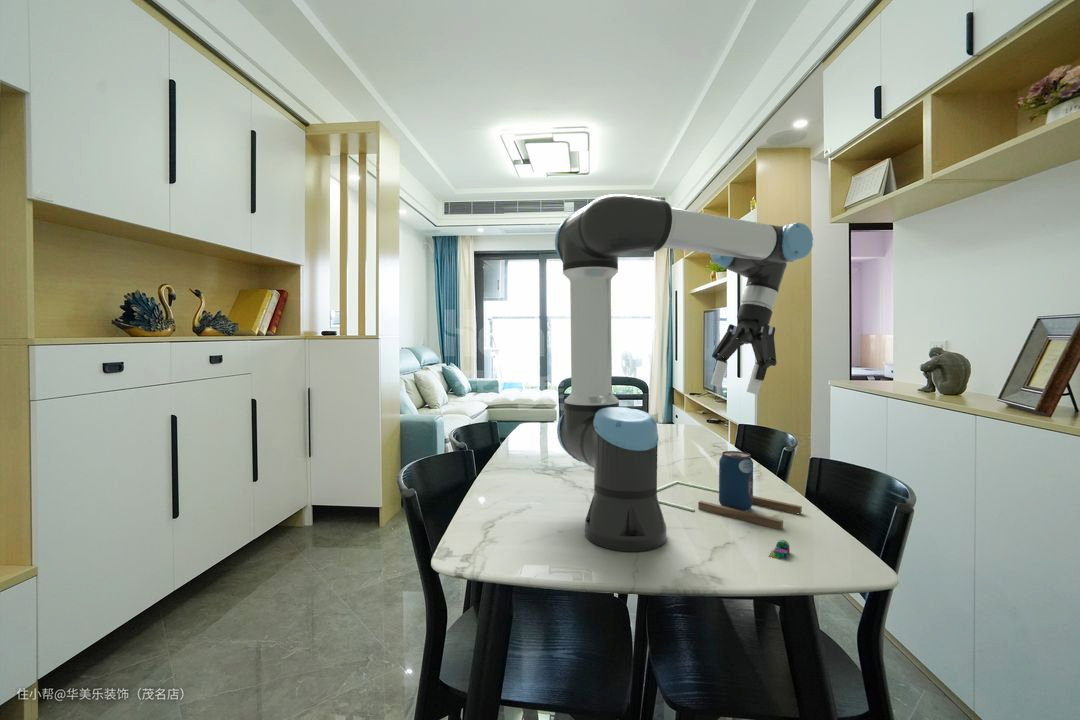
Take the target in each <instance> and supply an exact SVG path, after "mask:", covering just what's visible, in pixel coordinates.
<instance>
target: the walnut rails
mask: <svg viewBox="0 0 1080 720" xmlns="http://www.w3.org/2000/svg"><path fill="white" fill-rule="evenodd" d="M697 504H698V505H697V507H698V510H702V511H705V512H709V513H714V514H718V515H722V516H726V517H730V518H734V519H737V520H741V521H745V522H749V523H753V524H757V525H761V526H765V527H769V528H772V529H777V530H783V528H784V519H783V520H782V519H778V518H775V517H770V516H765V515H762V514H757V513H753V512H749V511H742V510H738V509H733V508H729V507H725V506H721V504H716V503H712V502H708V501H703V500H699V501H698V503H697ZM753 505H755V506H761V507H766V508H768V509H769V508H770V509H775V510H779V511H784V512H786V511H787V513H791V512H793V513H792V514H795V513H799V514H798V515H801V514H802V513H801V512H803V510H802V509H803V506H802V505H798V504H793V503H789V502H784V501H780V500H775V499H771V498H765V497H761V496H756V495H753ZM800 513H801V514H800Z"/></svg>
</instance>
